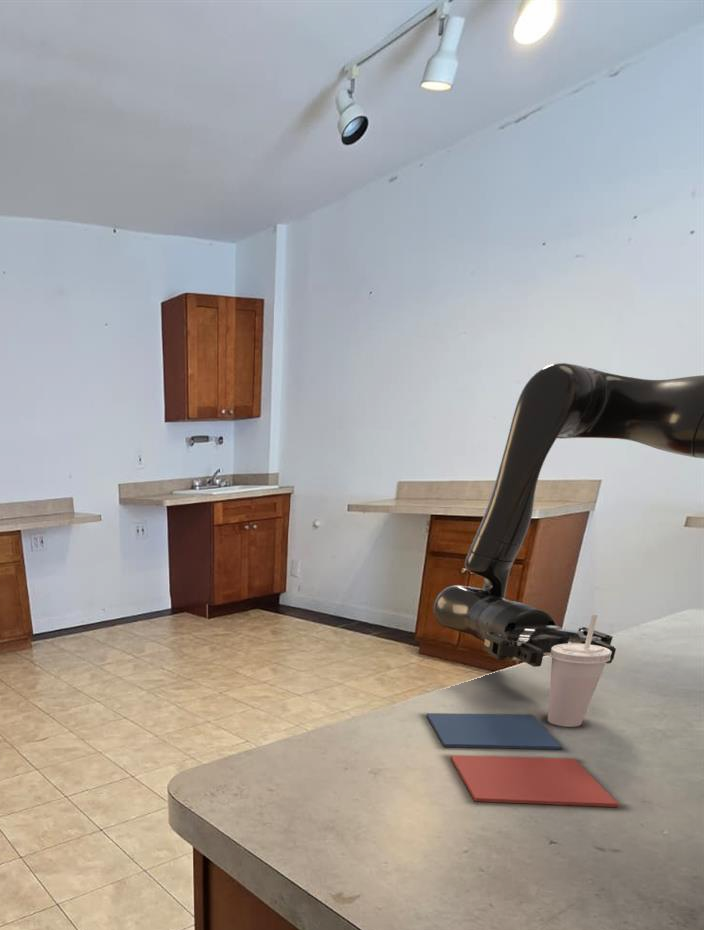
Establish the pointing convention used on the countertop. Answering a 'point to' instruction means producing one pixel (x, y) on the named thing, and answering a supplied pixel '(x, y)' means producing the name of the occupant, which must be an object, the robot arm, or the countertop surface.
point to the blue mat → (491, 731)
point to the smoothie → (574, 678)
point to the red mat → (530, 781)
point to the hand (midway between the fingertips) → (575, 657)
